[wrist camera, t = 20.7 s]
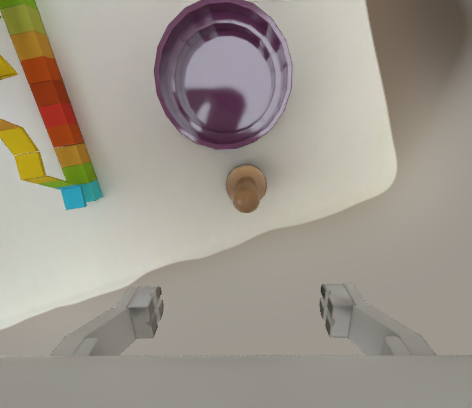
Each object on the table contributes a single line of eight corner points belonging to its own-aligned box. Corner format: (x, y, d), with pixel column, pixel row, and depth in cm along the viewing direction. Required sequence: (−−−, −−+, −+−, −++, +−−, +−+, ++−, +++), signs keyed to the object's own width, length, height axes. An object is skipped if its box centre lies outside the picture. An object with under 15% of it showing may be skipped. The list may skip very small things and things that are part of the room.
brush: (226, 162, 35) (219, 179, 26) (265, 161, 35) (271, 178, 26) (228, 199, 37) (222, 227, 28) (265, 198, 36) (271, 226, 28)
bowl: (176, 145, 34) (163, 151, 29) (162, 20, 30) (144, 1, 24) (283, 141, 34) (289, 147, 28) (286, 13, 29) (294, -9, 24)
